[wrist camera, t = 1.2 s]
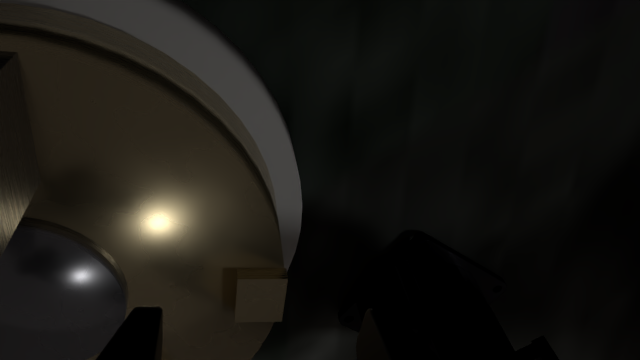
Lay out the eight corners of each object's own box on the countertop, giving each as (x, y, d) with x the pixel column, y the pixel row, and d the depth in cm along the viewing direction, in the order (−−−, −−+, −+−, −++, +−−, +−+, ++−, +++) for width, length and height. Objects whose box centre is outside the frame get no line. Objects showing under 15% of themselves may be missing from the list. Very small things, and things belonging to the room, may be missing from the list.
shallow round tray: (260, 365, 24) (271, 529, 19) (-132, 380, 21) (-265, 585, 15) (300, 30, 16) (343, 144, 10) (-351, -31, 12) (-838, 88, 7)
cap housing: (275, 339, 27) (279, 374, 25) (-124, 351, 23) (-152, 393, 22) (325, -19, 17) (336, -2, 16) (-345, -95, 14) (-429, -84, 12)
